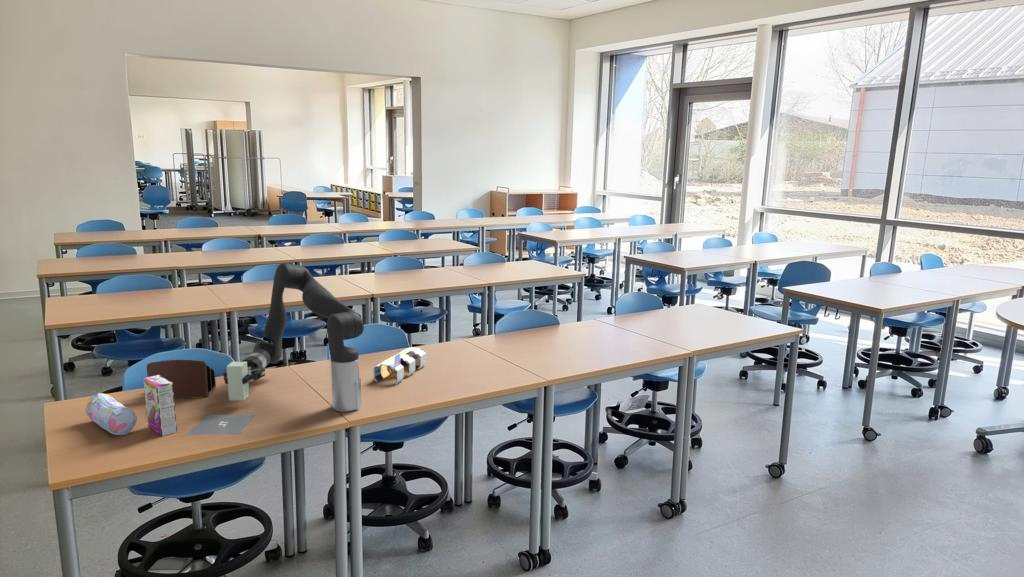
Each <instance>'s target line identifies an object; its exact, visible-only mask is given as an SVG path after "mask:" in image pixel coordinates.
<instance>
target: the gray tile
mask: <svg viewBox="0 0 1024 577" xmlns="http://www.w3.org/2000/svg"><path fill="white" fill-rule="evenodd" d="M256 416H257V414H207V415H206V416H205V417H204V418H202V420H200V421H199V422H198V423H197V424H196V425H195V426H194V427H193V428H191V429H190V430H189V431H188V432H187V433H186V435H188V436H189V435H190V436H191V435H195V436H196V435H240V434H241V433H242V432H243V431H244V430H245V429H246V427H247V426H249V424H250V423H251V422H252V421H253V420H254V419H255V417H256Z"/></svg>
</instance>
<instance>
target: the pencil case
mask: <svg viewBox="0 0 1024 577" xmlns="http://www.w3.org/2000/svg"><path fill="white" fill-rule="evenodd" d="M85 413H86V416H87V418H89V420H90V421H91V422H92V423H93V422H94V423H95V424H96V425H98V426H99V427H100V428H102V429H103V430H105V431H107V432H108V433H110V434H112V435H114V436H126V435H128V434H129V433H131V431H132V430H133V429H134V428H135V426H136V424H137V421H138V416H137V414H136V412H135V410H134V409H133V408H131V407H128V406H125V405H123V404H122V403H121V402H118V400H116V399H115V397H113V396H111V395H110V394H108V393H107V394H106V393H102V392H100V393H99V392H97V393H96V394H95V395H91V397H90V399H88V402H87V403H86V408H85Z"/></svg>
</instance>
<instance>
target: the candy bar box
mask: <svg viewBox="0 0 1024 577" xmlns="http://www.w3.org/2000/svg"><path fill="white" fill-rule="evenodd" d="M142 381H143V390H144V397H145V410H146V417H147V418H146V419H147V426H148V428H149V429H151V430H153V431H154V432H155V433H157V434H158V435H159V436H160V437H165V436H167V435H168V436H169V435H172V434H176V433H178V424H177V415H176V405H175V403H176V402H175V398H174V393H173V383H172V382H170V381H168V380H167V379H165V378H163V377H162V376H160V375H155V376H150V377H147V376H146V377H143V378H142Z"/></svg>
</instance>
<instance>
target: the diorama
mask: <svg viewBox="0 0 1024 577" xmlns="http://www.w3.org/2000/svg"><path fill="white" fill-rule="evenodd" d="M426 364H427V352H425V351H424V350H422V349H421V348H420V347H413V346H412V347H411V346H410V347H408V348H405V349H404V350H402V351H400V349H398V350H396V353H395V355H393V356H391V357H389V358H387V359H385V360H383V361H382V362H380V363H378V364H377V365H375V366H374V367H373V370H372V371H373V372H372V373H373V379H374V381H375V382H376V383H378V382H380V381H382V380H383V379H386V378H387V377H389V376H390V375H391V374H393V373H395V372H396V381H395V383H394V385H397V384H400V383H401V382H402V380H403V379H404V376H405V375H404V374H405V370H404V368H405V366H406V365H408V373H407V375H406V377H407V378H408V377H410V376H411V375H413V374H414V372H416V366H418V368H417V370H418V371H419V370H420V369H422V368H423V367H425V365H426Z"/></svg>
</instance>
